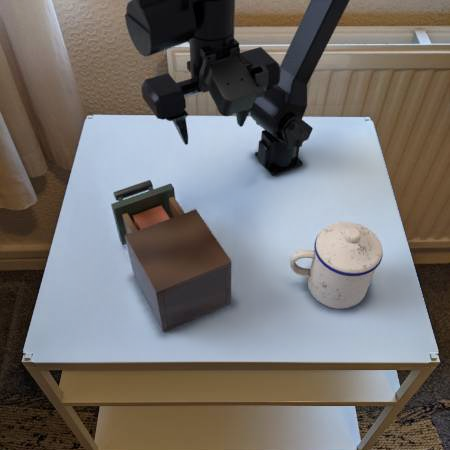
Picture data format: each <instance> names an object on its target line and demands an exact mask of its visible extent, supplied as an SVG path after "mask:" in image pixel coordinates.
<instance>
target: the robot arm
mask: <svg viewBox="0 0 450 450" xmlns="http://www.w3.org/2000/svg"><path fill="white" fill-rule="evenodd" d="M350 1H351V0H310V1H309V2H308V5H307V7H306V9H305V11H304V14H303V16H302V18H301V20H300V22H299V24H298V27H297V29H296V31H295V33H294V35H293V37H292V39H291V42H290V44H289V46H288V48H287V50H286V51H285V55H284V56H283V59H282V61H281V63H280V64H279V63H278V62H277V60H275V58H273V57H272V55H270V54H269V53H268V52H267V51H266V50H265V49H264V48H263V47H262V46H259V47H256V48H252V49H249V50H248V49H247V50H245V51H241V47H240V42H239V41H238V40H237V39H236V38H235V27H236V26H235V24H236V23H235V22H236V21H235V20H236V19H235V17H236V0H130V1H128V3H127V4H126V7H125V9H126V13H125V14H124V20H125V24H126V29H127V33H128V36H129V37H130V41H131V42H132V44H133V46H134V47H135V50H136V51H137V52H138V53H139V54H140V55H141V56H143V57H150V56H153V55H155V54H158V53H161V52H164V51H166V50H169V49H172V48H174V47H177V46H180V45H182V44H185V43H189V58H190V59H189V60H188V61H186V70H188V71H189V73H190V78H188V79H185V80H182V81H178V82H176V80H175V79H174V78H173V77H172V75H171V74H170V73H168V72H166V73H164V74H159V75H156V76H153V77H149V78H146V79H144V81H143V82H142V84H141V95H142V99H143V100H144V103H146V105H147V106H148V107H149V109H150V110H151V111H152V113H153V114H154V115H155V117H156V118H157V119H158V120H162V121H165V120H166V121H168V122H172V123H173V125H174V127H175V129H176V131H177V132H178V135H179V137H180V138H181V141H182V142H183V144H184V145H185V146H187V145H188V144H189V132H188V127H187V126H188V125H187V117H188V116H189V113H188V112H187V110H186V109H187V101H186V99H187V98H190V97H195V96H198V95H201V94H205V93H207V92H208V93H209V95H210V97H211V98H212V100H213V103H214V104H215V106H216V108H217V111H218V113H219V114H220V115H221V116H224V117H230V116H232V115H234V114H235V116H236V123H237V125H238V127H240V128H242V127H243V126H244V125H245V122H246V120H247V119H248V116H249V115H250V118H251V119H252V120H253V121H254V122H255V124H256V125H257V126H259V127H261V128H262V129H263V130H261V134H260V135H261V136H260V140H259V141H258V145H257V146H258V147H257V151H255V153H254V157H255V158H256V159H257V161H258V163H260V165H261V166H262V167H263V168H264V169H265V170H266V171H267V172H268V173H269V175H271V177H275V176H278V175H281V174H283V173H286V172H289V171H292V170H295V169H297V168H300V167H303V165H304V162H303V160H302V159H301V158H300V157H299V155H300V150H301V149H300V148H301V147H303V144H304V142H306V141H308V140H309V139H310V136H311V134H312V132H313V127H312V126H311V125H310V124H308V123H307V122H306V121H305V120H304V119H303V118H304V115H305V112H306V110H307V107H308V84H309V81H310V80H311V77H312V76H313V74H314V72H315V70H316V68H317V66H318V64H319V62H320V60H321V58H322V56H323V54H324V52H325V50H326V48H327V46H328V44H329V42H330V40H331V38H332V37H333V34H334V32H335V30H336V28H337V26H338V24H339V22H340V20H341V18H342V16H343V14H344V13H345V12H346V8H347V7H348V5H349V3H350Z"/></svg>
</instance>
